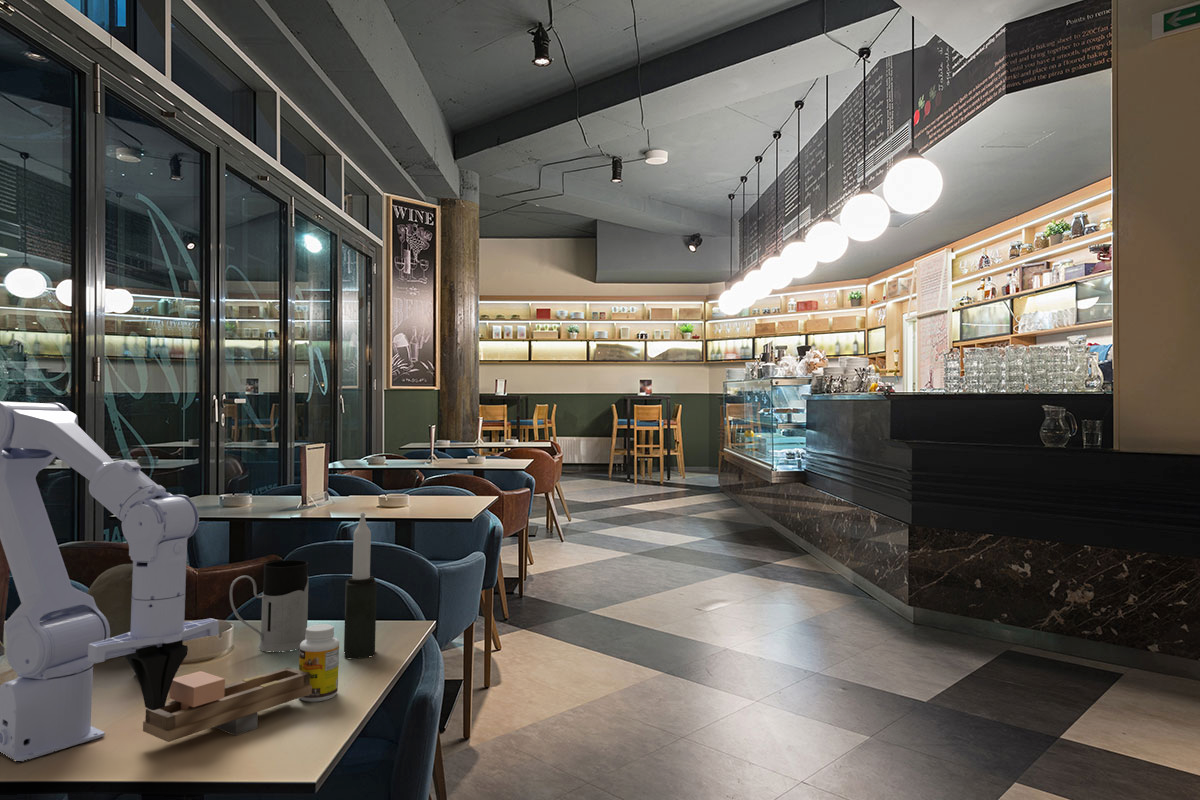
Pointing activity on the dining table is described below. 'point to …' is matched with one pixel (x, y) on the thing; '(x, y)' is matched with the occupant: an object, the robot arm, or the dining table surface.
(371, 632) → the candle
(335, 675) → the supplement bottle
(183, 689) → the rider
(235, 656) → the dining table surface
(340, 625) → the dining table surface
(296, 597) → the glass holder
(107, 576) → the cantaloupe
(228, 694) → the beam
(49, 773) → the dining table surface
